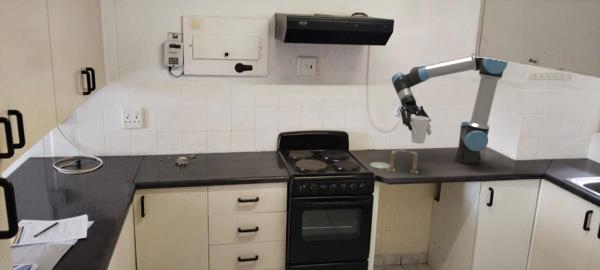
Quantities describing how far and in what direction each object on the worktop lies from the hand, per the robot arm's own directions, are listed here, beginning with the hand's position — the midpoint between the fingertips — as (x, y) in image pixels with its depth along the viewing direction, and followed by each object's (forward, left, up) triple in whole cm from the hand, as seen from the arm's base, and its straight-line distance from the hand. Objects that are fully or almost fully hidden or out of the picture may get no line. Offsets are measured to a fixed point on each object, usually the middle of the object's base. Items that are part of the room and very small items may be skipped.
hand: (422, 134), depth 254 cm
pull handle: (+8, -2, -21) cm, 23 cm away
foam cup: (+2, -3, -5) cm, 6 cm away
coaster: (+19, -8, -21) cm, 30 cm away
